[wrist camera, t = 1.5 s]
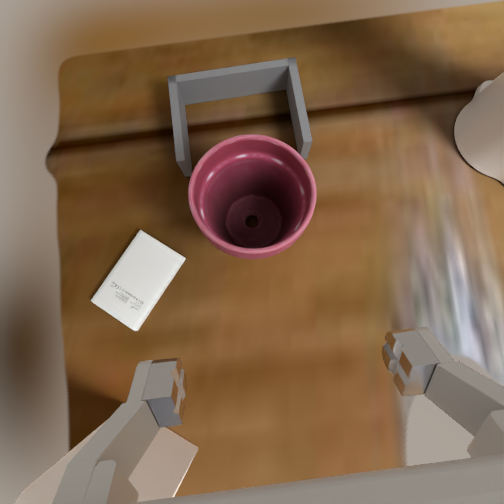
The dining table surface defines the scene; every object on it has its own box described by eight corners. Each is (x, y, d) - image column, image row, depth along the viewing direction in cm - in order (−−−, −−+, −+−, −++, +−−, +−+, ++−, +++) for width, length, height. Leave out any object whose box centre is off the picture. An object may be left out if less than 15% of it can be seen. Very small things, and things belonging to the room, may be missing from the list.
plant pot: (310, 191, 45) (328, 146, 33) (290, 279, 43) (302, 267, 30) (221, 171, 47) (206, 121, 34) (196, 257, 44) (171, 236, 32)
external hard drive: (187, 259, 45) (139, 330, 43) (143, 231, 46) (95, 300, 44) (184, 257, 43) (134, 331, 41) (139, 228, 44) (88, 300, 42)
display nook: (291, 82, 49) (295, 57, 44) (306, 158, 46) (312, 141, 42) (176, 99, 49) (167, 76, 44) (185, 177, 47) (176, 161, 42)
